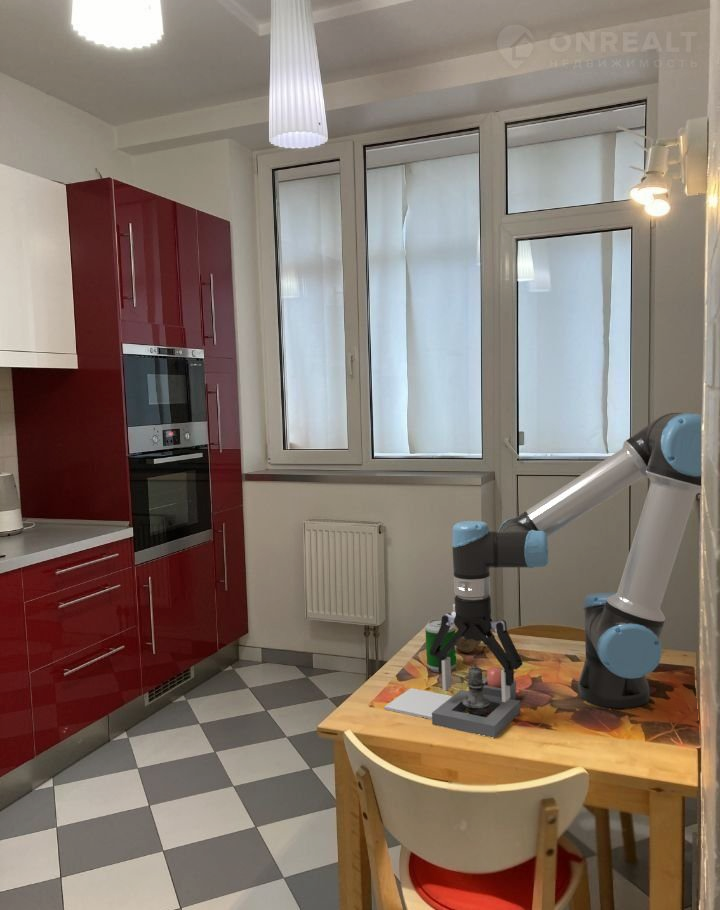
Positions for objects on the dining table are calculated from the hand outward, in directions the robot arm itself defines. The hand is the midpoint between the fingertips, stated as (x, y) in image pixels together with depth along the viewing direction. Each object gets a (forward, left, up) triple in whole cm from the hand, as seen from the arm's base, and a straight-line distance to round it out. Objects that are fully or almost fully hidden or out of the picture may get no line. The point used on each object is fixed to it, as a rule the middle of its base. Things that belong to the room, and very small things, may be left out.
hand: (475, 694), depth 158 cm
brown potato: (+20, -37, -6) cm, 42 cm away
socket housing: (0, -3, -5) cm, 6 cm away
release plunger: (0, -11, -4) cm, 11 cm away
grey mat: (+14, -1, -5) cm, 15 cm away
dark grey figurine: (0, 0, -6) cm, 6 cm away
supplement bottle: (+26, -47, -6) cm, 54 cm away
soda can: (+20, -23, -6) cm, 31 cm away
